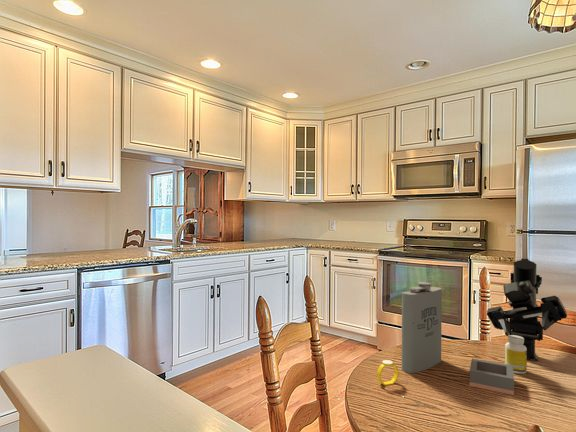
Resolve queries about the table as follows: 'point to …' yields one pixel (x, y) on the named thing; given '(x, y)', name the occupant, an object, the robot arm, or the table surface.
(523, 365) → the supplement bottle
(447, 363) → the table surface
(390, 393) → the table surface
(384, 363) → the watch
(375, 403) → the table surface
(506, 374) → the socket block
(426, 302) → the flask
